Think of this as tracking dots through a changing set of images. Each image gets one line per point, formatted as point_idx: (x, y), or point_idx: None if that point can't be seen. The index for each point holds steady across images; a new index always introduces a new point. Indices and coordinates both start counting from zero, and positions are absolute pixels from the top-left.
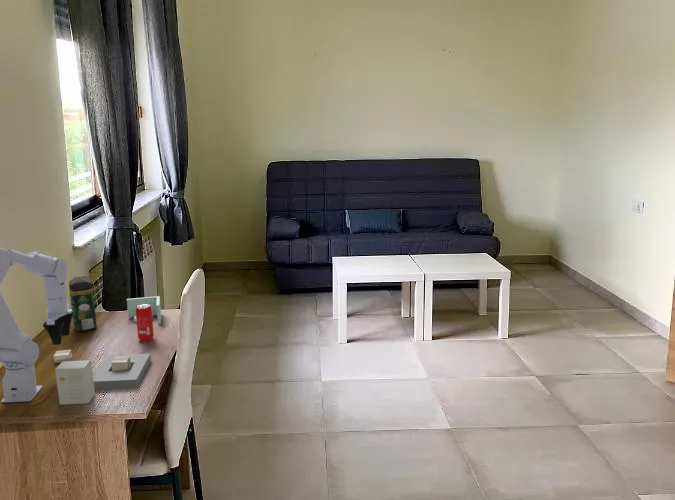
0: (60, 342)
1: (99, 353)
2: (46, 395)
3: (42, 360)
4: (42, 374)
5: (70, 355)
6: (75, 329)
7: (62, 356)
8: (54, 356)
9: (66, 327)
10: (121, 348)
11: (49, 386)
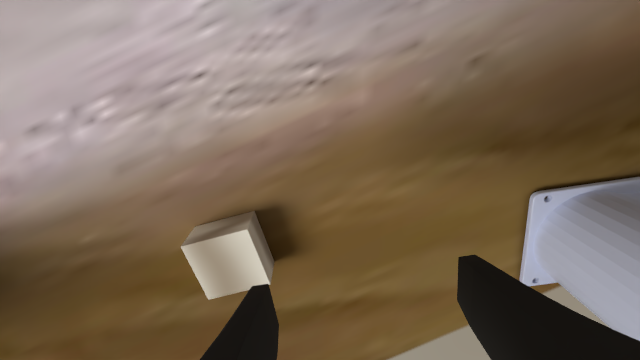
0: (486, 261)
1: (123, 114)
2: (617, 139)
3: None
4: (390, 253)
5: (212, 229)
6: None
7: (258, 249)
8: (270, 279)
9: (254, 355)
10: (11, 8)
11: (521, 170)
